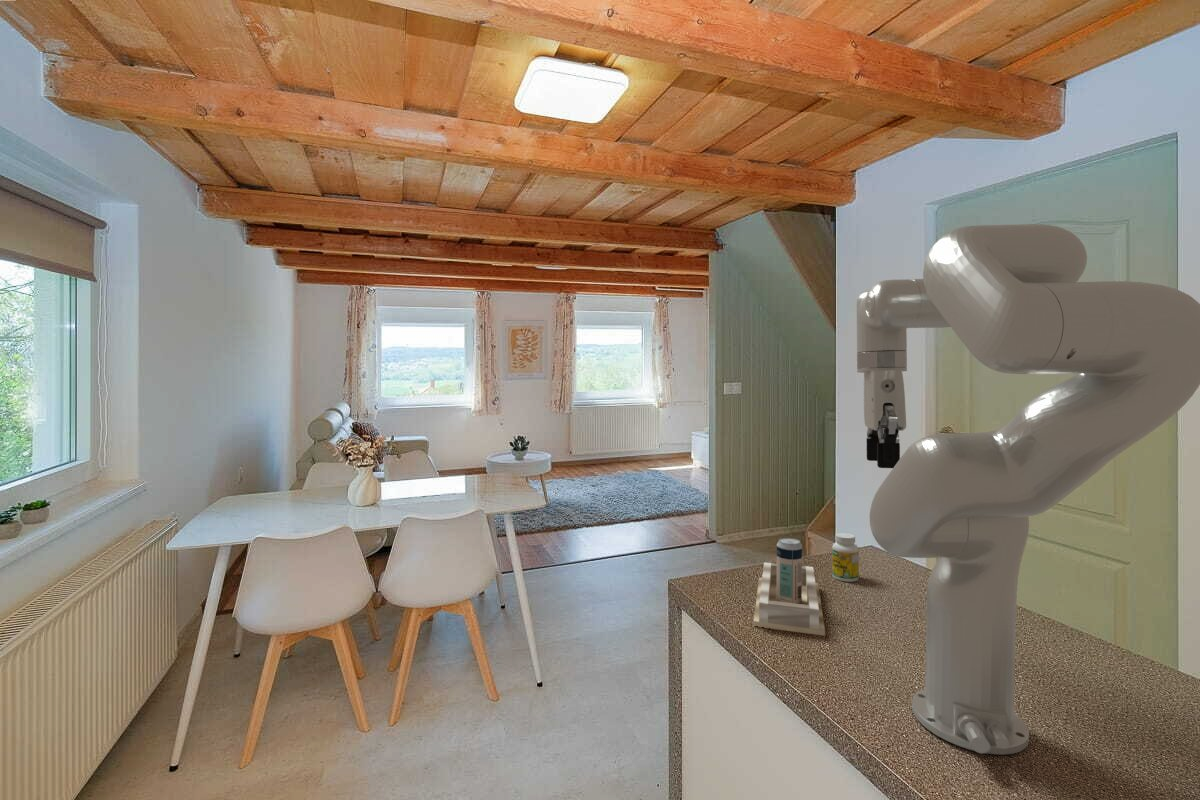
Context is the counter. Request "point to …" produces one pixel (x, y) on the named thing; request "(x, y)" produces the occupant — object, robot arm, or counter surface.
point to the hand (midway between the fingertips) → (882, 464)
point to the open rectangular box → (789, 604)
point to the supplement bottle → (845, 558)
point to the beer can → (789, 570)
